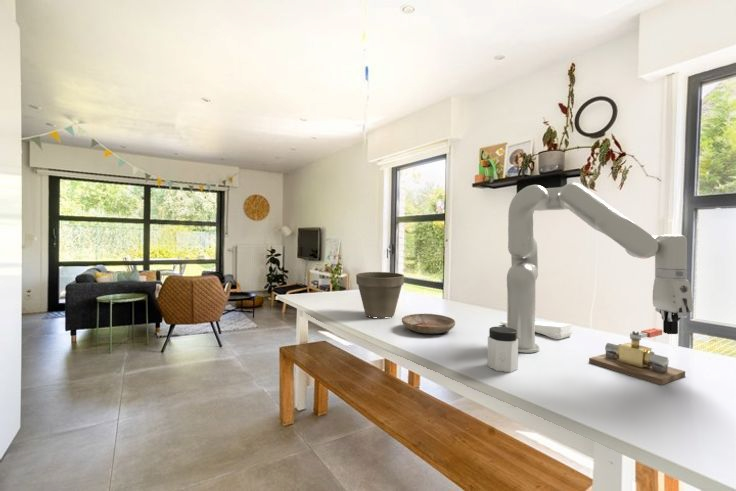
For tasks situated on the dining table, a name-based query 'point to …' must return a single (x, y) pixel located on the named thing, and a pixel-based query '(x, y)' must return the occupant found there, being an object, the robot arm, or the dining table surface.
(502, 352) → the jar
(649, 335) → the lever
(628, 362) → the ball valve
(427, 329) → the ceramic bowl
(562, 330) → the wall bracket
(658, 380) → the base board
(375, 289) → the plant pot
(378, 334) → the dining table surface
